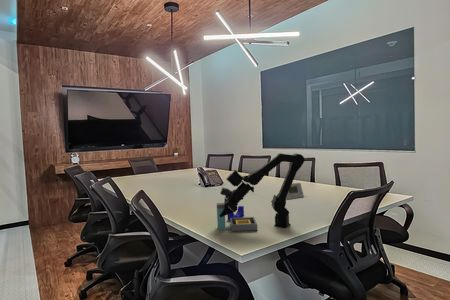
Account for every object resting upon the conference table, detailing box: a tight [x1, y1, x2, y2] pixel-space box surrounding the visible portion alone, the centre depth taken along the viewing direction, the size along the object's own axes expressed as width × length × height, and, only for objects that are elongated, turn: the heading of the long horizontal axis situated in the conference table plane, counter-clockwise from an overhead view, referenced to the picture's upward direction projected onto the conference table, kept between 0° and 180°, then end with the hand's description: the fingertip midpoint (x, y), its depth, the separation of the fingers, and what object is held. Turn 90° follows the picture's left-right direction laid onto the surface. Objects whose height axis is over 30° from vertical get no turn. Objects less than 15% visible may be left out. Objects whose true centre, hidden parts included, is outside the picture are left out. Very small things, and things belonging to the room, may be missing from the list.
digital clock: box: [286, 182, 305, 200], centre depth 223 cm, size 16×9×11 cm, turn 104°
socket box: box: [229, 216, 258, 233], centre depth 156 cm, size 13×13×4 cm
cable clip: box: [227, 205, 245, 221], centre depth 174 cm, size 12×4×6 cm, turn 142°
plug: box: [216, 202, 226, 231], centre depth 156 cm, size 4×4×13 cm
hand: (220, 214), depth 156 cm, fingers open, 9 cm apart
